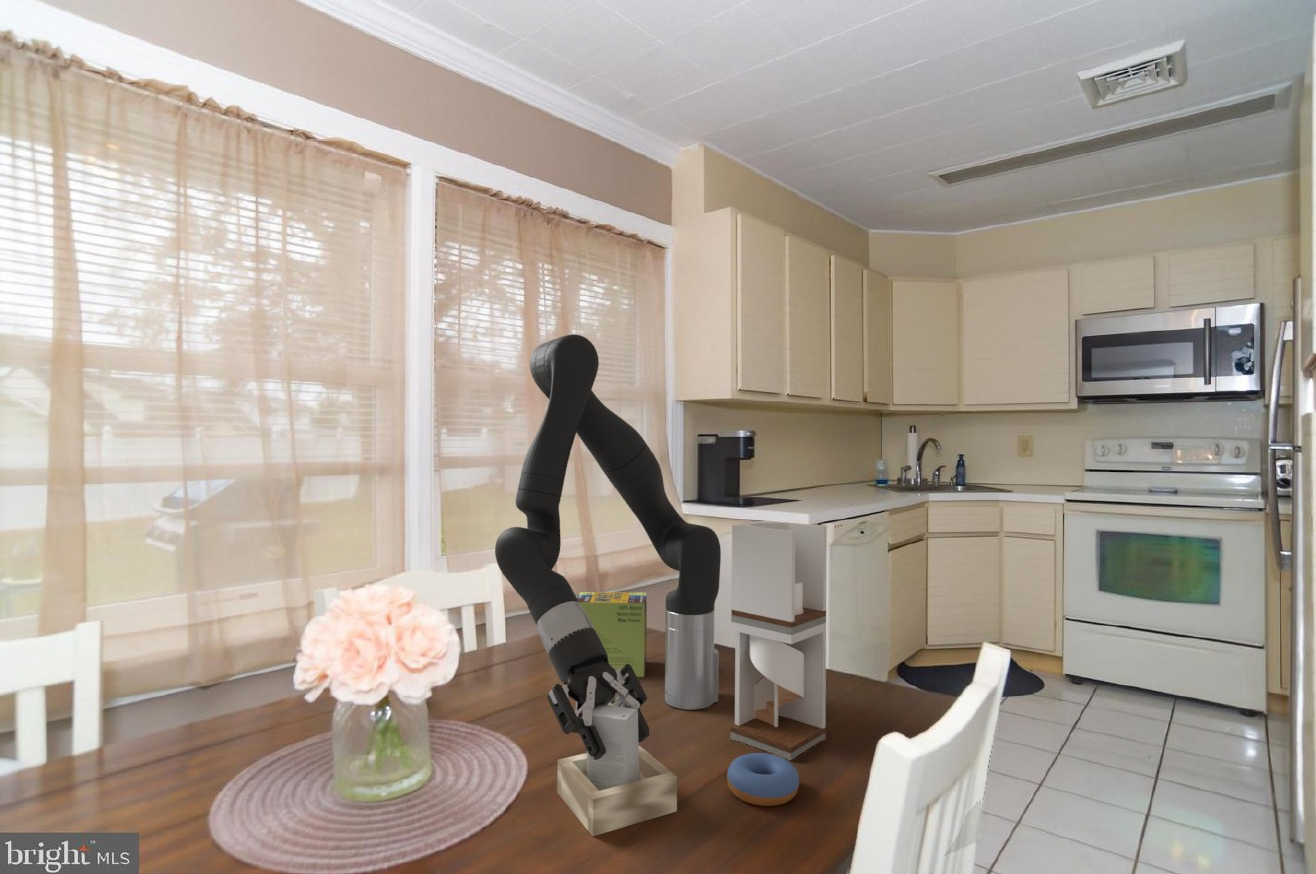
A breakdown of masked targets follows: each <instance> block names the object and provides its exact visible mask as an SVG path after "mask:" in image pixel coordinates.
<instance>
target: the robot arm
mask: <svg viewBox="0 0 1316 874" xmlns="http://www.w3.org/2000/svg"><path fill="white" fill-rule="evenodd" d="M599 362H600V361H599V355H598V352H597V349H596V347H595V345H594V344H593V343H592V342H591V341H590V340H589V339H588V338H586V337H585V336H583V335H581V334H567V335H563V336H562V335H561V336H560V337H558V338H557V337H556V338H555V339H552V340H549V341H545V342H543V343H542V344H540V345H538V346H537V347H535V349H534V350H533V351H532V352H531V355H530V358H529V370H530V374H531V377H532V379H533V381H534V383H535V384H536V386H537V387H538V388H539V390H540V391H541V392H542V393H543V394H544V396H545V397H546V398H547V399H548V404H547V406H546V407H547V408H546V410H545V413H544V416H543V419H542V421H541V423H540V425H539V427H538V429H537V431H536V433H535V436H534V438H533V440H532V442H531V443H530V445H529V448H528V449H527V452H526V454H525V457H524V461H523V464H522V468H521V473H520V477H519V482H518V486H517V490H516V497H515V507H516V508H517V509H518V510H519V511H520V512H521V513H523V514H524V515H525V517H526V522H527V523H526V524H527V528H525V527H522V526H513V527H508V528H507V529H504V530H503V531H502V532H500V534H499V535H498V537H497V539H496V542H495V547H494V555H495V560H496V563H497V566H498V568H499V571H500V572H501V574H502V575H503V576H504V577H505V579H506V580H507V582H509V584H510V585H511V587H512V588H513V589H514V591H516V593H517V594H518V595H519V596H520V597H521V599H522V600H523V601H524V602H525V603H526V606H527V609H528V610H529V613H530V615H531V616H532V619H533V621H534V623H535V625H536V627H537V630H538V633H539V637H540V640H541V642H542V645H543V647H544V648H545V649H544V650H546V653H547V655H548V658H549V660H550V661H551V664H552V666H553V668H554V670H555V673H556V675H557V677H558V679H559V681H560V682H561V683H563V685H561V684H560V683H557V684H555V685H554V686H553V687H552V689H550V691H549V692H548V693H547V695H546V698H547V701H548V703H549V705H550V707H551V708H552V712H553V713H554V716H555V718H556V720H557V722H558V724H559V726H560V728H561V730H562V732H563V734H565V735H569V734H571V733H575V734H577V735H578V736H580V737H581V740H582V742H583V744H584V746H585V749H586V752H587V751H588V753H589V755H590V756H591V757H592V756H593V758H594V759H595V760H597V759H600V758H601V757H602V756H603V755H604V754H605V753H606V748H605V746H604V744H603V742H602V740H601V738H600V736H599V734H598V732H597V730H596V727H595V725H593V726H591V724H592V711H593V709H594V708H596V707H597V706H599V705H609V706H617V707H625V708H635V709H638V743H642V742H644V741H646V740H647V738H648V737H649V736H650V727H649V725H648V723H647V721H646V719H645V717H644V715H643V713H642V711H641V706H642V705H643V704H644V703H645V702H646V701H647V700H648V696H647V694H646V692H645V690H644V688H643V687H642V685H641V682H640V681H639V679H638V678H639V677H637V676H636V674H635V672H634V670H633V668H632V667H631V665H629V664H626V665H625V666H624V667H623V668H621V669H617V670H615V669H614V668H612V667H611V666H610V664H609V663H608V656H607V652H606V650H605V648H604V646H603V644H602V642H601V640H600V638H599V636H598V634H597V633H596V631H595V629H594V627H593V625H592V623H591V621H590V619H589V617H588V615H587V614H586V612H585V611H584V610H583V608H582V607H581V605H580V604H579V602H578V600H577V596H576V594H575V592H574V590H573V588H572V587H571V584H570V583H569V581H568V579H566V577H565V576H563V575H562V574H560V573H558V572H556V571H554V570H553V568H554V567H555V566H556V564H557V562H558V559H559V557H560V552H561V539H562V538H561V517H560V515H561V514H560V505H561V500H562V499H561V498H562V494H563V493H562V492H563V489H564V485H565V478H566V473H567V467H568V463H569V460H570V455H571V451H572V448H573V444H574V440H575V437H576V435H577V436H578V437H579V438H580V440H581V441H582V443H583V444H584V446H585V447H586V449H587V450H588V451H589V452H590V454H591V456H592V457H593V458H594V460H595V462H597V464H598V466H599V467H600V469H601V470H602V471H603V472H602V473H604V475H605V476H606V477H607V479H608V481H609V482H610V483H611V484H612V486H613V488H615V490H616V491H617V493H618V494H619V495H620V496H621V498H622V499H623V500H624V501H625V502H624V503H626V505H627V506H628V508H629V509H630V511H631V512H632V513H633V514H634V515H635V517H636V518H637V519H638V521H639V523H640V525H641V526H642V528H643V529H644V531H645V533H646V534H647V536H648V538H649V540H650V541H651V543H652V545H653V547H654V549H655V551H656V553H657V554H658V555H657V556H659V558H660V560H661V561H662V563H664V564H665V565H666V566H667V567H669V568H670V569H673V570H675V571H678V573H679V574H678V584H677V587H676V589H674V590H671V591H669V592H668V593H667V594H666V596H665V620H664V621H665V622H664V623H665V632H664V633H665V638H664V639H665V644H664V646H665V648H664V658H665V659H664V662H665V663H664V702H665V703H666V704H667V705H669V706H670V707H673V708H676V709H680V710H687V711H688V710H701V709H706V708H709V707H710V706H712V705H713V704H714V703H718V702H719V662H720V660H719V657H720V656H719V651H718V649H716V648H715V604H716V600H717V597H718V595H719V589H720V578H721V576H720V575H721V557H722V555H721V552H722V551H721V544H720V540H719V537H718V535H717V533H716V532H715V531H714V530H713V529H712V528H710V527H708V526H705V525H700V524H695V523H689V522H687V521H685V519H683V517H682V516H681V515H680V514H679V512H678V511H677V510H676V509H675V507H674V506H673V504H672V503H671V501H670V500H669V498H668V495H667V493H666V490H665V483H664V479H663V478H664V477H663V474H662V473H663V472H662V468H661V466H660V464H659V461H658V460H657V458H656V456H655V454H654V453H653V451H652V449H651V448H650V447H649V445H648V444H647V442H646V441H645V439H644V438H643V437H642V435H641V434H640V433H639V432H638V431H637V430H636V429H635V428H634V427H633V426H632V425H630V423H628V422H626V421H625V420H624V418H621V417H620V416H619V415H617V414H616V413H615V412H613V411H612V410H611V409H609V407H608V406H606V405H605V404H604V403H603V402H601V400H600V399H599V398H598V397H597V396H596V394H595V393H594V391H593V386H594V383H595V382H596V378H597V374H598V371H599V365H600V363H599ZM616 694H617V695H618V696H617V697H615V696H616ZM569 698H571V699H572V700H574V701H575V710H574V707H573V706H572V703H571V702H570V699H569Z"/></svg>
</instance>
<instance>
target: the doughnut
mask: <svg viewBox="0 0 1316 874" xmlns="http://www.w3.org/2000/svg"><path fill="white" fill-rule="evenodd" d="M726 778H727V779H726V780H727V786H728V788H729V790H730V791H731V792H732V794H733V795H734V796H735V797H737V798H738V799H740V800H741V801H742V802H745V803H748V804H751V805H755V806H760V807H761V806H762V807H774V806H780V805H784V804H786V803H788V802H790V801H791V800H792V799H793V798H794V797H796V795H797V794H798V791H799V786H800V775H799V773H798V771H797V769H796V766H794V765H793V764H792V763H791V761H789V760H786V759H784V758H782V757H779V756H776V755H773V754H770V753H767V752H753V753H746V754H743V755H740V756H738V757H736V758H735V759H734V760H733V761H731V763H730V765H729V767H728V768H727V774H726Z"/></svg>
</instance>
